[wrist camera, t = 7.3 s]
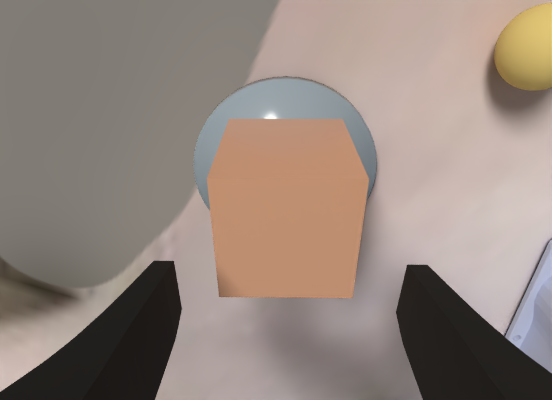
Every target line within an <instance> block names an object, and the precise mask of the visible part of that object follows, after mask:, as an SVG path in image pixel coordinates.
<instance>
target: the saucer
mask: <svg viewBox="0 0 552 400" xmlns="http://www.w3.org/2000/svg"><path fill="white" fill-rule="evenodd" d="M229 119H343V121H344V123H345V125H346V128H347V130H348V132H349V134H350V137H351V139H352V141H353V144H354V146H355V148H356V150H357V153H358V155H359V157H360V159H361V162H362V164H363V166H364V169H365V171H366V173H367V175H368V178H369V184H368V191H367V198H366V201H367V199H368V197H369V195H370V193H371V190H372V187H373V185H374V180H375V176H376V167H377V159H376V150H375V145H374V141H373V138H372V136H371V133H370V130H369V129H368V127H367V125H366V123H365V122H364V120H363V118H362V116H361V115H360V113H359V112H358V111H357V110H356V108H355V107H354V106H353V105H352V104H351V103H350V102H349V101H348V100H347V99H346V98H345V97H344V96H342V95H341V94H340V93H338V92H337V91H335V90H334V89H332V88H330V87H328V86H326V85H324V84H321V83H319V82H316V81H313V80H309V79H305V78H300V77H288V76H285V77H272V78H267V79H262V80H258V81H255V82H253V83H250V84H247V85H245V86H243V87H241V88H239V89H238V90H236V91H234V92H233V93H232V94H230V95H229V96H227V97H226V98H225V99H224V100H223V101H222V102H221V103H220V104H219V105H218V106H217V107H216V108H215V109H214V111H213V112H212V113H211V115H210V116H209V118H208V120H207V121H206V123H205V125H204V127H203V129H202V131H201V133H200V135H199V138H198V140H197V144H196V149H195V154H194V174H195V179H196V184H197V187H198V190H199V193H200V195H201V197H202V199H203V201H204V203H205V204H206V206H207V207H208V209H209V210H210V204H209V194H208V185H207V177H208V174H209V171H210V169H211V166H212V163H213V161H214V158H215V155H216V152H217V150H218V147H219V144H220V142H221V139H222V136H223V134H224V131H225V128H226V126H227V123H228V120H229Z"/></svg>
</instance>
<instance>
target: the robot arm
mask: <svg viewBox="0 0 552 400" xmlns="http://www.w3.org/2000/svg"><path fill="white" fill-rule="evenodd" d="M181 310H182V307H181V301H180V295H179V289H178V283H177V277H176V271H175V265H174V261H153V262H152V263H151V264H150V265H149V266H148V267H147V268H146V269H145V270H144V271H143V272H142V274H141V275H140V276H139V277H138V278H137V279H136V280H135V281H134V282H133V283H132V284H131V285H130V286H129V287H128V288H127V289H126V290H125V291H124V292H123V293H122V294H121V295H120V296H119V297H118V298H117V299H116V300H115V301H114V302H113V303H112V304H111V305H110V306H109V307H108V308H107V309H106V310H105V311H104V312H103V313H101V314H100V315H99V316H98V317H97V318H96V319H95V320H94V321H93V322H92V323H90V324H89V325H88V326H87V327H86V328H85V329H84V330H83V331H82V332H80V333H79V334H78V335H77V336H76V337H75V338H73V339H72V340H71V341H70V342H69V343H67V344H66V345H65V346H64V347H62V348H61V349H60V350H59V351H57V352H56V353H55V354H53V355H52V356H51V357H50V358H48V359H47V360H46V361H44V362H43V363H42V364H40V365H39V366H37V367H36V368H34V369H33V370H32V371H30V372H29V373H27V374H26V375H24V376H23V377H21V378H20V379H19V380H17V381H16V382H14V383H13V384H11V385H10V386H8V387H7V388H5V389H4V390H3V391H1V392H0V400H155V398H156V395H157V392H158V389H159V386H160V383H161V380H162V377H163V374H164V371H165V369H166V366H167V363H168V360H169V357H170V354H171V351H172V348H173V345H174V342H175V339H176V334H177V330H178V325H179V320H180V315H181ZM396 314H397V319H398V324H399V328H400V333H401V337H402V341H403V345H404V348H405V351H406V354H407V356H408V359H409V362H410V365H411V368H412V370H413V373H414V376H415V379H416V381H417V384H418V387H419V390H420V392H421V395H422V398H423V400H552V240H550V242H549V243H548V246H547V248H546V250H545V252H544V254H543V256H542V258H541V261H540V263H539V265H538V267H537V269H536V271H535V274H534V276H533V278H532V280H531V282H530V284H529V286H528V289H527V291H526V293H525V295H524V297H523V299H522V302H521V304H520V306H519V308H518V310H517V312H516V315H515V317H514V319H513V321H512V323H511V325H510V327H509V330H508V332H507V334H506V336H505V337H504V336H503V335H502V334H501V333H500V332H498V331H497V330H496V329H495V328H494V327H492V326H491V325H490V324H489V323H488V322H487V321H486V320H485V319H483V318H482V317H481V316H480V315H479V314H478V313H477V312H476V311H475V310H474V309H473V308H471V307H470V306H469V305H468V304H467V303H466V302H465V301H464V300H463V299H462V298H461V297H460V296H459V295H458V294H457V293H456V292H455V291H454V290H453V289H452V288H451V287H450V286H448V285H447V284H446V283H445V282H444V281H443V280H442V279H441V278H440V277H439V276H438V275H437V274H436V273H435V272H434V271H433V270H432V269H431V268H430V267H429V266H428V265H407V268H406V272H405V276H404V281H403V285H402V289H401V294H400V298H399V302H398V306H397V311H396Z"/></svg>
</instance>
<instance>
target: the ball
mask: <svg viewBox="0 0 552 400" xmlns="http://www.w3.org/2000/svg"><path fill="white" fill-rule="evenodd" d="M494 59H495V65H496V68H497V71H498V72H499V74H500V76H501V77H502V78H503V79H504V80H505V81H506V82H507V83H509V84H510V85H512V86H514V87H516V88H519V89H523V90H532V91H536V90H544V89H549V88H552V3H546V4H541V5H537V6H534V7H532V8H530V9H527V10H525V11H524V12H522V13H520V14H519V15H518V16H516V17H515V18H514V19H513V20H512V21H511V22H510V23H509V24H508V25H507V26H506V27H505V28H504V30H503V31H502V33H501V34H500V36H499V38H498V41H497V43H496V47H495V54H494Z"/></svg>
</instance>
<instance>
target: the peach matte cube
mask: <svg viewBox="0 0 552 400" xmlns="http://www.w3.org/2000/svg"><path fill="white" fill-rule="evenodd" d="M368 184H369V178H368V175H367V173H366V171H365V169H364V166H363V164H362V162H361V159H360V157H359V155H358V153H357V150H356V148H355V146H354V144H353V141H352V139H351V137H350V134H349V132H348V130H347V128H346V125H345V123H344V121H343V119H229V120H228V123H227V126H226V128H225V131H224V134H223V136H222V139H221V142H220V144H219V147H218V150H217V152H216V155H215V158H214V161H213V163H212V166H211V169H210V171H209V174H208V177H207V185H208V194H209V204H210V213H211V223H212V232H213V242H214V251H215V261H216V270H217V280H218V289H219V297H294V298H353V291H354V284H355V277H356V269H357V262H358V255H359V248H360V241H361V234H362V227H363V220H364V213H365V205H366V198H367V191H368Z"/></svg>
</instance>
